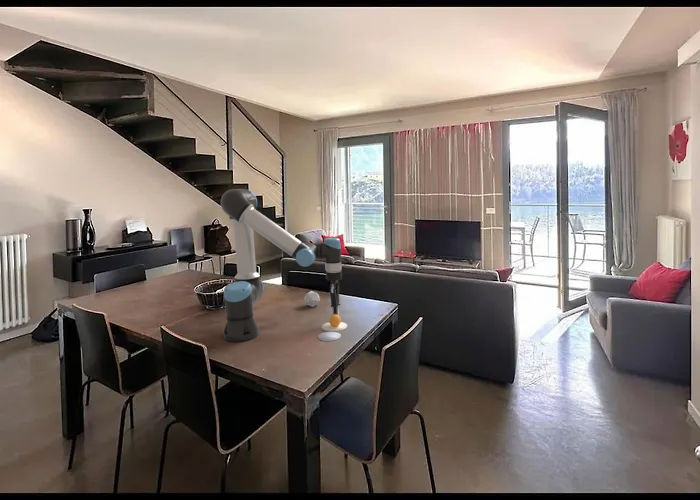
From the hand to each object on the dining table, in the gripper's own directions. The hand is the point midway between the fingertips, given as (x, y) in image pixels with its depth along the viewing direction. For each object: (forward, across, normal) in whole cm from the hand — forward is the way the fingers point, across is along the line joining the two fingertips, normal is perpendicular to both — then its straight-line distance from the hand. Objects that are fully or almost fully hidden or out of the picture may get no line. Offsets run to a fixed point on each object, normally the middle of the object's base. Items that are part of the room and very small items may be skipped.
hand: (336, 319), depth 183 cm
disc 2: (+2, -16, 0) cm, 16 cm away
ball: (-1, -3, 0) cm, 3 cm away
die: (+3, +27, +18) cm, 33 cm away
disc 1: (+2, -4, 0) cm, 5 cm away
